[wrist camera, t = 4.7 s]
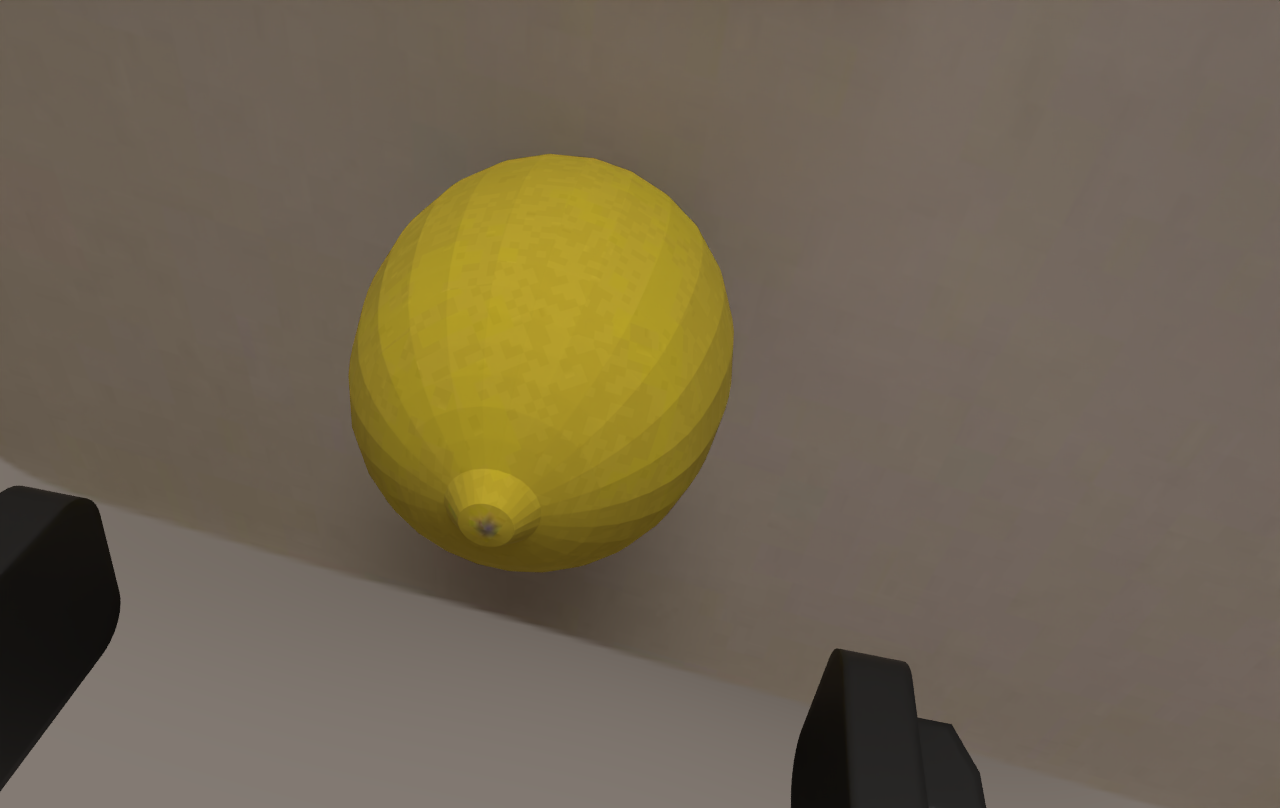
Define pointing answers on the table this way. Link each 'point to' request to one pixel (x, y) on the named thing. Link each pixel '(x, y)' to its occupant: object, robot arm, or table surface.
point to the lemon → (541, 363)
